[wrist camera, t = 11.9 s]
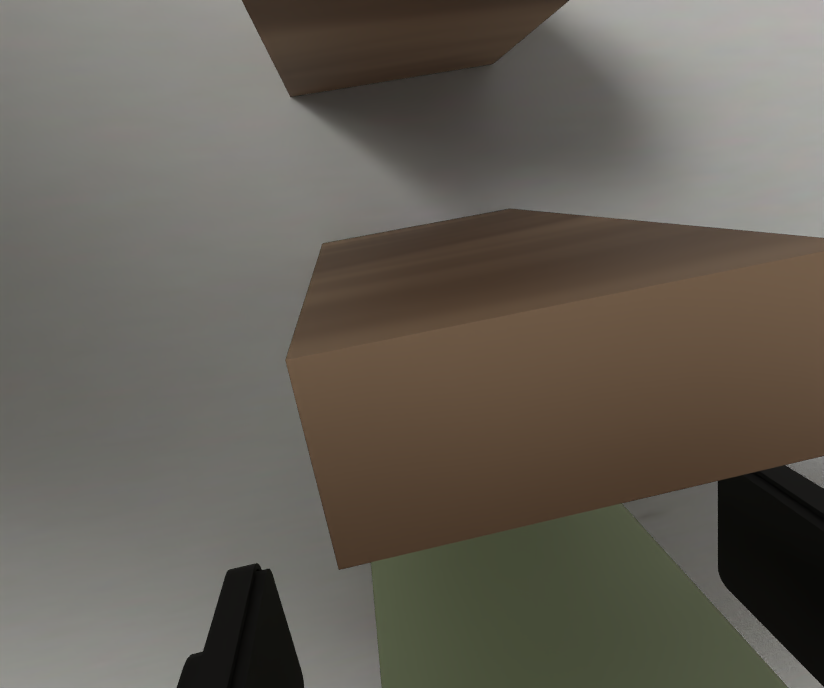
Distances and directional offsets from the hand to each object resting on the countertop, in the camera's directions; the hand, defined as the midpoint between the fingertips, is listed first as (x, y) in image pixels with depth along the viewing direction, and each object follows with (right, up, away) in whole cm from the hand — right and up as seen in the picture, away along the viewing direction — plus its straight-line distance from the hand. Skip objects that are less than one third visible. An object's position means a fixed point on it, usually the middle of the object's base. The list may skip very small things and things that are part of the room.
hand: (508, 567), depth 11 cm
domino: (-2, +7, +3) cm, 8 cm away
